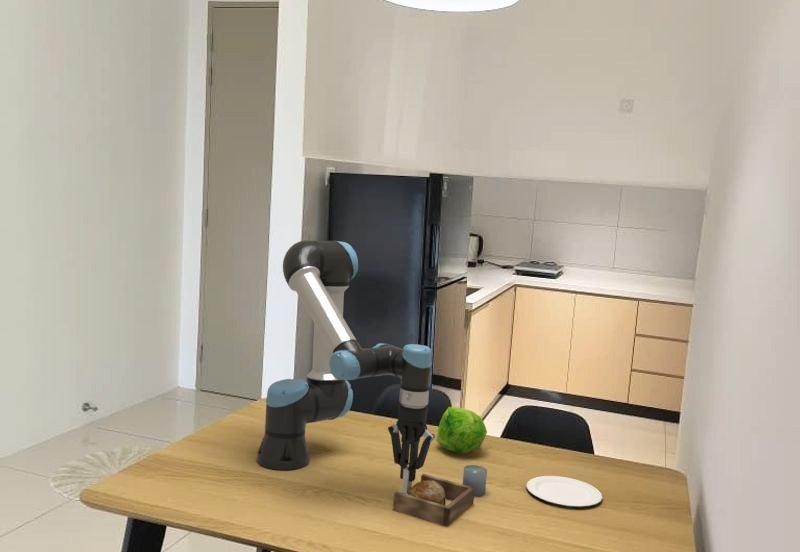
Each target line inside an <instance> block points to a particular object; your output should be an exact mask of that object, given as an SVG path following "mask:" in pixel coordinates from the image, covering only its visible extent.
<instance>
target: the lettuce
mask: <svg viewBox="0 0 800 552" xmlns="http://www.w3.org/2000/svg"><path fill="white" fill-rule="evenodd" d="M487 434H488V430H487V427H486V424H485V422H484V420H483V418H482V416H480V415H479V414H477V413H476V412H474V411H471V410H469V409H466V408H462V407H458V406H448V407H447V409H446V410H445V412H444V413H443V414H442V416H441V419H440V421H439V426H438V428H437V434H436V442H437V443H439V444H440V445H441V447H443V448H444V449H445V450H447V451H450V452H454V453H459V454H463V455H466V454H468V453H471V452H474V451H476V450H478V449H480V448H481V446H482V444H483V442H484V440H485V439H486V438H485V437H486V436H487Z"/></svg>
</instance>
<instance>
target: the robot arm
mask: <svg viewBox="0 0 800 552" xmlns="http://www.w3.org/2000/svg"><path fill="white" fill-rule="evenodd" d="M358 260H359V259H358V256H357V252H356V251H355V249H354V248H353V247H352V245H350V244H349V243H347V242H345V241H338V240H311V239H305V240H300V241H298V242H296V243H293V245H291V246H290V247H289V248H288V250H287V251H286V252H285V255H284V257H283V261H282V273H283V276H284V279H285V281H286V283H287V285H288V287H289V289H290V290H291V291H294V292H296V294H297V295H298V297H299V299H300V300H301V302H302V304H303V307H305V310H306V311H307V314H308V315H309V317H310V318H311V320H312V321H313V343H312V345H313V346H312V347H313V348H312V369H311V370H310V371H309V373H307V375H306V380H305V379H300V378H292V379H291V378H285V379H281V380H278V381H274V382H273V383H272V384H270V385H269V387H268V389H267V392H266V399H265V404H266V406H265V421H264V423H265V424H264V435H263V438H262V441H261V443H260V445H259V447H258V448H259V449H258V451H257V454H256V455H257V456H256V462H257V463H258V465H259V466H261V467H264V468H267V469H270V470H276V471H292V470H297V469H302V468H304V467H306V466H307V465H309V463H310V451H309V447H308V443H307V439H306V424H312V423H318V422H323V421H332V420H336V419H340V418H342V417H344V416H346V414H348V412H349V411H350V409H351V407H352V404H353V401H354V400H353V399H354V393H353V389H352V385H351V383H350V382H349V381H353V380H357V379H363V378H373V377H380V376H381V377H382V376H386V375H387V376H389V375H390V376H394V377H396V378H399V379H400V385H399V386H400V387H399V403H400V404H399V405H398V410H397V411H398V414H397V417H398V419H397V421H396V424H393V425H390V426H388V428H387V431H388V432H389V435H390V439H391V444H392V454H393V461H394V464H396V465H399V467H400V472H399V473H400V475H399V477H400V479H401V480H402V484H401V485H402V486H401V493H404V494H407V495H408V493H407V491H408V490H410V489H411V488H412V487H413V482H414V481H415V480H416V472H417V470H419V469H421V468H422V467H424V464H425V461H426V457H427V456H428V451H429V449H430V446H431V442H433V440H434V439H435V438H436V436H435V434H434V433H430V432H429V431H428V426H427V419H428V405H429V395H430V394H429V392H430V381H431V371H432V364H433V363H432V357H433V356H432V353H433V352H432V349H431V347H429V346H427V345H423V344H416V343H411V344H410V343H409V344H406V345H404V347H403V348H401V347H398V346H396V345H395V346H394V345H393V344H389V343H377V344H376V345H375V346H373V347H368V348H367V347H366V348H362V347H361V345H360V343H359V341H357V339H356V336H354V334H353V332H352V330H351V329H350V327H349V325H348V324H347V321H346V320H345V319H344V302H345V301H344V298H345V297H344V296H345V291H347V289H348V288H349V287H350V281H351V280H353V278H355V276H356V274H357V273H358V272H359V261H358ZM400 435H401V437H400ZM421 438H423V441H422V443H421V447H420V450H419V446H420V442H421Z"/></svg>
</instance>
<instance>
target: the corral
mask: <svg viewBox="0 0 800 552" xmlns="http://www.w3.org/2000/svg"><path fill="white" fill-rule="evenodd" d="M425 480H429V481H435V482H436V483H438V484H440V485H441V486H442V488H443V489H444V491H445V495H446V500H450V502H449V503H448V504H446V505H441V504H438V503H435V502H431V501H428V500H424V499H421V498H417V497H414V496H411V495H408V493H407V494H405V493H402V492H401V491H395V492H393V501H392V502H393V504H392V510H393V511H395V512H398V513H401V514H404V515H407V516H412V517H416V518H418V519H421V520H425V521H428V522H431V523H434V524H437V525H441V526H444V527H449V526H450V525H451V524H452V523H453V522H454V521H456V520H457V519H458V518H460V516H461V515H463V513H465V512H466V511H467V510H469V509H470V508H471V507H472V506H473V505H474V501H475V500H474V499H475V497H474V490H475V488H473V487H470V486H466V485H462V484H463V483H462V484H461V483H459V482H455V481H451V480H448V479H443V478H439V477H436V476H433V475H428V474H426V473H422V474H421V475H420V482H421V481H425Z"/></svg>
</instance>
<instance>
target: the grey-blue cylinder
mask: <svg viewBox="0 0 800 552" xmlns="http://www.w3.org/2000/svg"><path fill="white" fill-rule="evenodd" d="M487 476H488V469H487V468H485V467H484V466H482V465H478V464H477V465H476V464H469V465H465V466H464V467H463V474H462V485H466V486H470V487H473V488H475V490H474V498H481V497H483V496H485V495H486V489H487V479H488V478H487Z"/></svg>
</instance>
